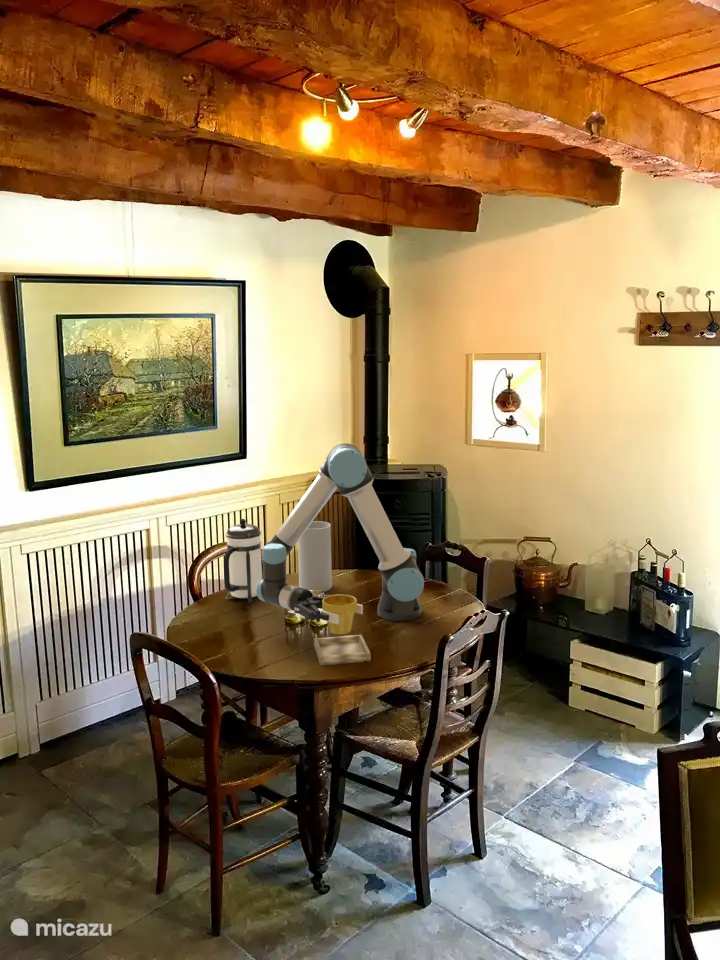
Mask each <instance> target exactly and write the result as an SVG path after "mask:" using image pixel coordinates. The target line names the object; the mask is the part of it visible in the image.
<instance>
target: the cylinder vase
mask: <svg viewBox="0 0 720 960" xmlns="http://www.w3.org/2000/svg"><path fill="white" fill-rule="evenodd" d="M331 528H332V527H331V523H329V522H327V521H320V520H317V521H316V520H313V521H312V523H311V524H310V525H309V527H308V528H307V529H306V531H305V532H304V533H303V535H302V536H301V537H300V539H299V540H298V541H297V552H298V553H297V554H298V555H297V557H298V559H297V560H298V587H300V588H303V589H307V590H322V591H324V592H323V593H325V592H327V591H330V590H331V589H332V587H333V580H332V579H333V578H332V576H333V575H332V540H331V539H332V537H331V536H332V535H331V534H332V533H331Z"/></svg>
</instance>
